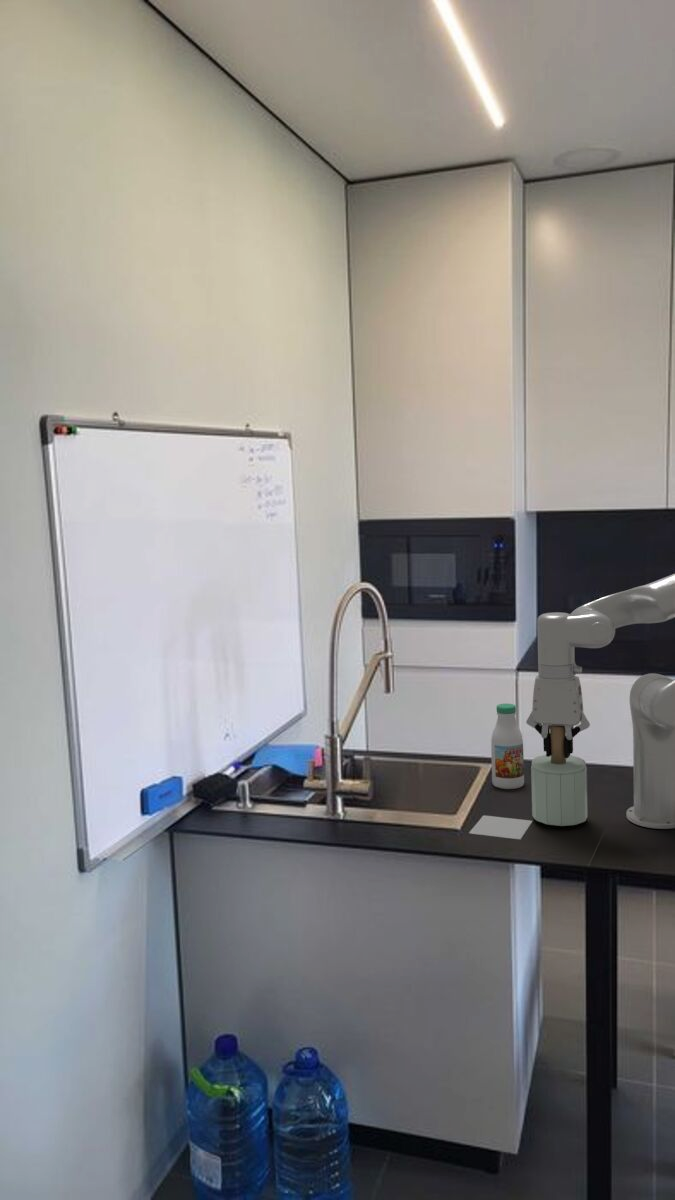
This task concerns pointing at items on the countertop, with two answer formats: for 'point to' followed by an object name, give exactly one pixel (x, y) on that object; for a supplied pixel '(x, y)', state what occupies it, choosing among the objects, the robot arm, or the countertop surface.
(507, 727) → the milk bottle
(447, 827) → the countertop surface
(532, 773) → the cylinder with wooden dowel
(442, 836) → the countertop surface
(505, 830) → the mat
